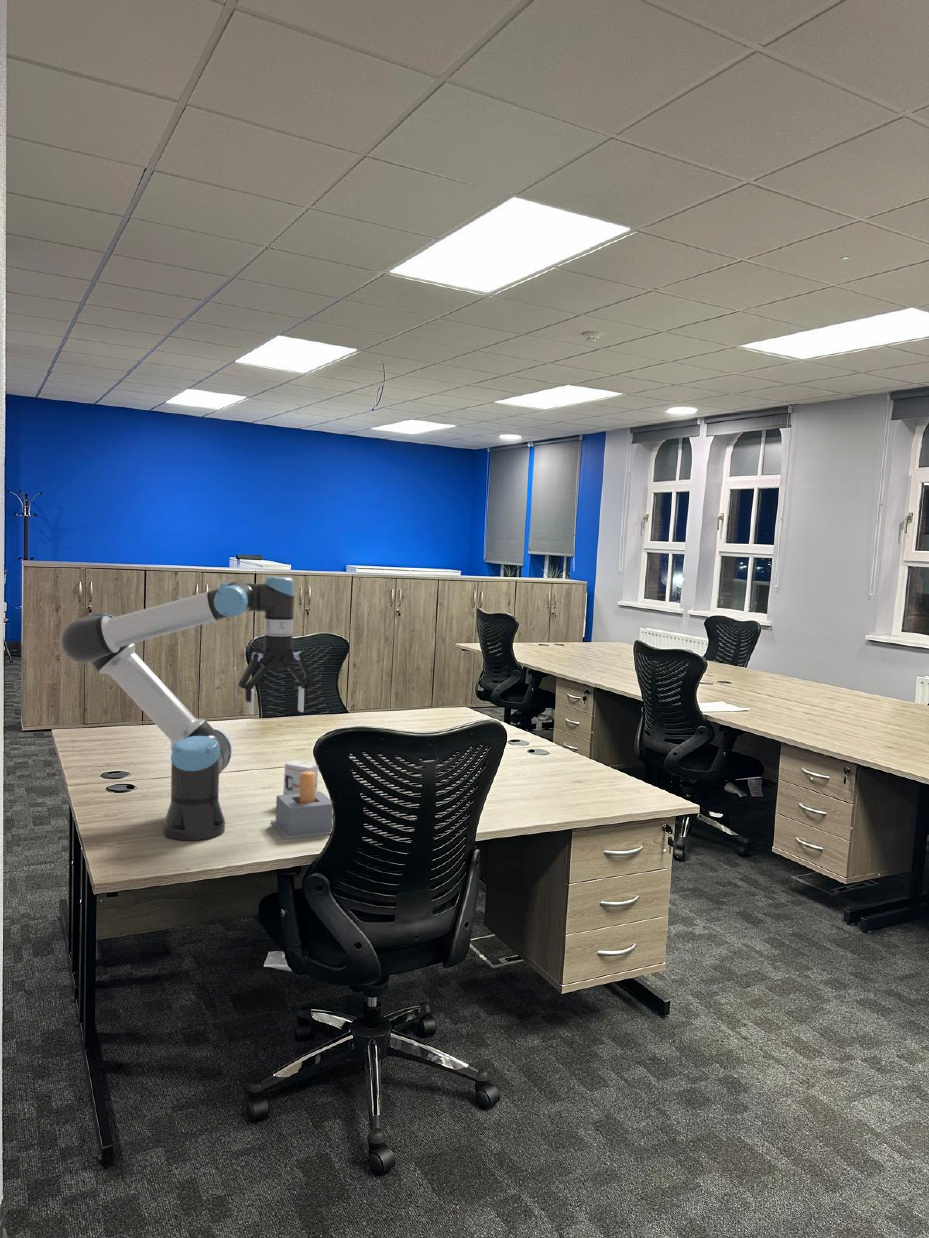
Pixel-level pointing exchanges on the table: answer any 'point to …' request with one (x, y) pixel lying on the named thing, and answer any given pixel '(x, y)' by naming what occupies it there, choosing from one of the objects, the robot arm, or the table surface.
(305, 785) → the dowel
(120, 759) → the table surface
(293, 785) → the ink box
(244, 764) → the table surface
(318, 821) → the socket block
